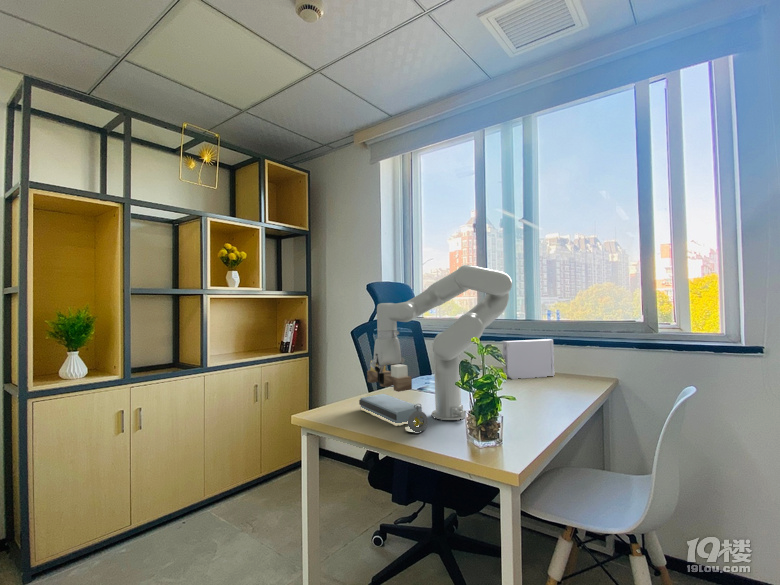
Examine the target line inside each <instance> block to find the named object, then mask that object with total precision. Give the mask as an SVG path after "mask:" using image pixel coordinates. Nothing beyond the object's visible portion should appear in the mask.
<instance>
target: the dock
mask: <svg viewBox="0 0 780 585" xmlns="http://www.w3.org/2000/svg"><path fill="white" fill-rule="evenodd" d="M358 403H359V405H360V408H361V407H362V408H364V409H366V410H368V411H371V412H373V413H375V414H377V415H380V416H382V417H384V418H386V419H388V420H390V421H392V422H395V423H402V422H407V421H408V419H409V417H410V415H411V414H412V413H413V412H415V411H417V409H416V407H417V406H418V407H420V406H421V405H419V404H418V405H416V403H412V402H408V401H405V400H403V399H400V398H397V397H394V396H393V395H392V396H391V395H389V394H385V393H380V394H373V395H370V396H369V395H368V396H363V397H360V399H359V400H358ZM414 405H415V408H414ZM422 409H423V408H422V406H421V407H420V408H419V409H418V411H422V412H423V410H422ZM414 420H415V419H414Z"/></svg>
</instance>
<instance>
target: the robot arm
mask: <svg viewBox="0 0 780 585" xmlns="http://www.w3.org/2000/svg"><path fill="white" fill-rule="evenodd" d="M512 287H513V281H512V278H511V277H510V275H509V274H507V273H506V272H504V271H500V270H494V269H490V268H485V267H480V266H476V265H471V264H464V265H461V266H460V267H459V268H457V269H456V270H455V271H453V272H451V273H450V274H448V275H446V276H444V277H443V278H441V279H439V280H437V281H435V282H433V283H432V284H431V285H429V286H428V287H427V288H426V289H425V290H424V291H422V292H421V293H419V294H418V295H416V296H414V297H413V298H412V297H411V299H408V300H407V301H403V302H397V303H394V302H381V303H378V304H377V306H376V322H377V328H376V330H377V333H376V334H377V338H376V339H375V342H374V349H373V359H372V360H371V361H372V362H371V363H369V366H370V368H371V367H372V368H373V369H374V370H375V371H376V372H377V373H378V382H377V383H378V384H379V385H380V384H384V373H382V372H383V369H384V366H385V365H386V366H391V365H398V364H402V365H404V363H405V362H406V359H405V358H404V357H403V356H402V352H401V345H400V344H401V343H400V339H399V338H398V335H400V331H399V330H398V325H397V324H398V323H397V322H400V323H401V322H402V323H408V322H410V321H413V320H414V319H416V318H418V317H419V316H421V315H424V314H425V313H427V312H428V311H430V310H432V309H434V308H436V307H439V306H442V305H443V304H445V303H447V302H449V301H451V300H453V299H455V298H456V297H458V296H459V295H461V294H463V293H465V292H467V291H468V290H472V291H474V292H479V293H483V294H485V296H484V298H483V299H481V300H480V301H479V302H478V303H477V304H476V305H475V306H473V307H472V308H471V309H470V310H468V311H467V312H466V313H464V314H462V315H461V316H459V318H458V319H457V320H455V321H454V323H452V324H451V325H450V326H449V327H447V328H446V329H445V330H444V331H441V332H439V333H437V334H436V336H435V337H434V339H433V342H432V346H431V347H432V352H433V362H434V363H433V365H434V366H433V369H434V374H433V375H434V399H435V400H434V401H435V402H434V403H435V409H434V410H433V411H432V412H431V417H432V416H433V417H435V418H437V419H442V420H457V421H461V420H464V419H465V418H466V417H465V412H466V411H467V410H465V409H464V405H462V394H461V393H462V391H461V390H462V389H461V388H459V387H457V386H456V385H455V382H457V381H459V380H460V381H461V374H460V375H459V364H460V365H461V363H460V361H461V360H460V359H461V357H460V354H462V353H463V352H464V351H465V350H467V349H468V348H470V347H471V346H472V345H473V344H475V342H471V338H473V337H477V338H478V340H479V339H480V338H481V337H482V335H483V333H484V330H485V329H486V328H487V327H488V326H489V325H491V324H492V323H493V322H494V321H495V320H497V318H499V317H500V316H501V315H502V314H503V313H504V312H505V310H506V308H507V306H508V303H509V298H510V291H511V290H512ZM375 364H377V365H378V366H376V365H375ZM433 417H432V418H433ZM464 417H465V418H464ZM435 418H434V419H435ZM437 419H436V420H437ZM460 419H461V420H460ZM442 420H441V421H442Z"/></svg>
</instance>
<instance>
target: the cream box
mask: <svg viewBox="0 0 780 585" xmlns="http://www.w3.org/2000/svg"><path fill="white" fill-rule="evenodd" d="M390 371H391V376H392V377H395V378H402V377H408V376H409V375H408V374H409V372H408V365H406V364H398V365H390Z"/></svg>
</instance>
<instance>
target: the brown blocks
mask: <svg viewBox="0 0 780 585" xmlns="http://www.w3.org/2000/svg"><path fill="white" fill-rule="evenodd" d="M366 372H367V373H366V376H367V379H366V380H367V383H370V384H373V383H378V373H377V372H373V371H371V369H370V370H367V371H366ZM382 373H384V384H380V383H379V386H380V387H382V388H383V387H384V388H386V387H393V391H395V392H398V393H399V392H404V391H405V392H406V391H409V390H410V391H412V389H413V382H412V381H413V379H412V376H409V375H408V377H402V378H395V377H392V376H391V370H386V371H383V372H382Z"/></svg>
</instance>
